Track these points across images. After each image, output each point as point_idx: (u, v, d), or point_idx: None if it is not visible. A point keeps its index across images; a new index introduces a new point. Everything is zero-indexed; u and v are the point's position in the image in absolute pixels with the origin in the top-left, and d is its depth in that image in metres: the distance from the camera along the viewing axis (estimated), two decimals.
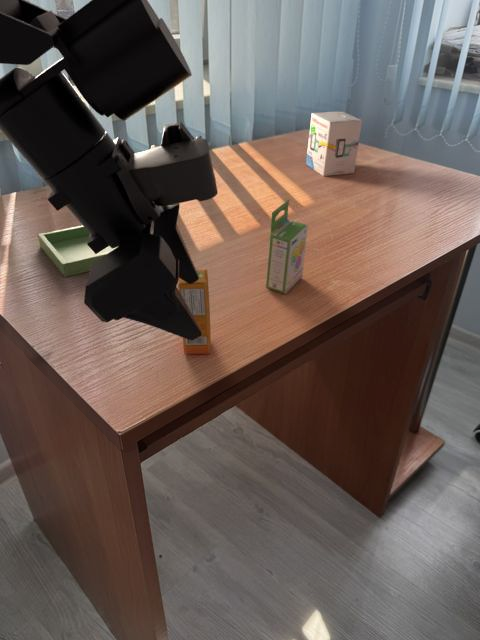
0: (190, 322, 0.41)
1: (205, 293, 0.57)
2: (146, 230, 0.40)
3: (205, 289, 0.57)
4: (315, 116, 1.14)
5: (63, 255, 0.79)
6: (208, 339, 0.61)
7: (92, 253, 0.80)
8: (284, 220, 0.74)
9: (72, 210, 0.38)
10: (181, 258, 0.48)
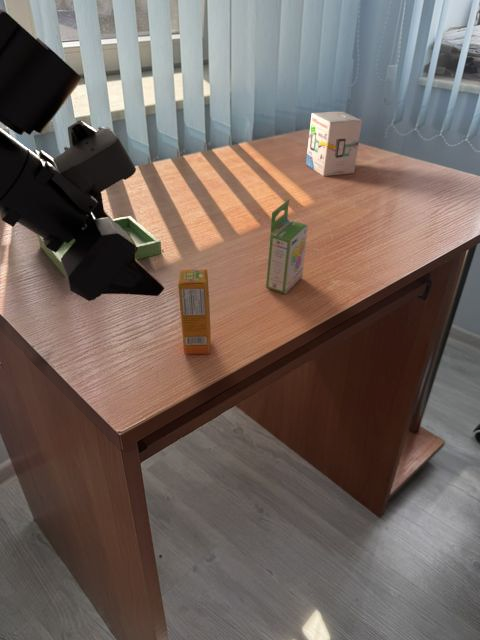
0: (153, 280, 0.49)
1: (205, 293, 0.57)
2: (89, 218, 0.47)
3: (205, 289, 0.57)
4: (315, 116, 1.14)
5: None
6: (208, 339, 0.61)
7: None
8: (284, 220, 0.73)
9: (24, 222, 0.44)
10: None
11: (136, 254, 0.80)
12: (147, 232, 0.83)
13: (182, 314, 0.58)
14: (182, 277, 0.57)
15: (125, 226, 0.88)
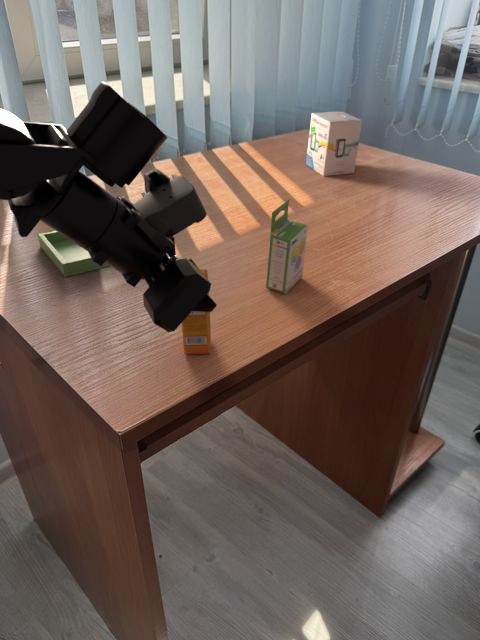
0: (208, 299, 0.57)
1: None
2: None
3: None
4: (315, 116, 1.14)
5: (63, 255, 0.79)
6: (208, 339, 0.61)
7: None
8: (284, 220, 0.74)
9: (109, 262, 0.50)
10: None
11: None
12: None
13: None
14: None
15: None
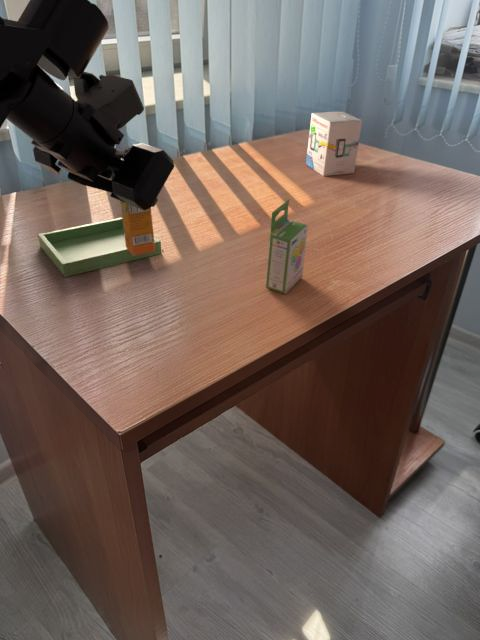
0: None
1: None
2: None
3: None
4: (315, 116, 1.14)
5: (63, 255, 0.79)
6: (153, 236, 0.67)
7: (92, 253, 0.80)
8: (284, 220, 0.74)
9: (70, 156, 0.53)
10: None
11: None
12: None
13: (128, 213, 0.63)
14: None
15: None
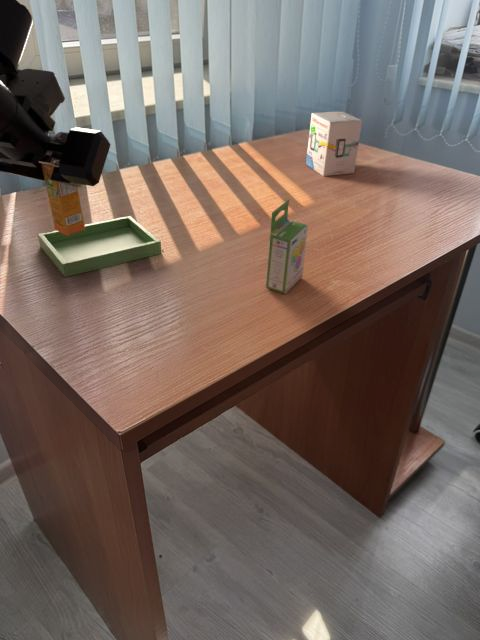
0: None
1: None
2: None
3: None
4: (315, 116, 1.14)
5: (63, 255, 0.79)
6: (82, 215, 0.73)
7: (92, 253, 0.80)
8: (284, 220, 0.74)
9: (16, 145, 0.58)
10: None
11: (136, 254, 0.80)
12: (147, 232, 0.83)
13: (59, 195, 0.69)
14: None
15: (125, 226, 0.88)
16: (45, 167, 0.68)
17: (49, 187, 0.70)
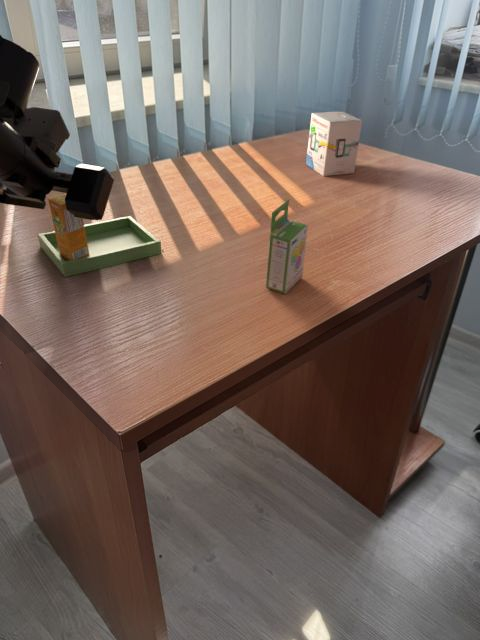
0: None
1: None
2: None
3: None
4: (315, 116, 1.14)
5: None
6: None
7: (92, 253, 0.80)
8: (284, 220, 0.73)
9: (24, 184, 0.61)
10: None
11: (136, 254, 0.80)
12: (147, 232, 0.83)
13: (67, 232, 0.72)
14: (56, 201, 0.70)
15: (125, 226, 0.88)
16: (53, 206, 0.71)
17: (56, 224, 0.73)
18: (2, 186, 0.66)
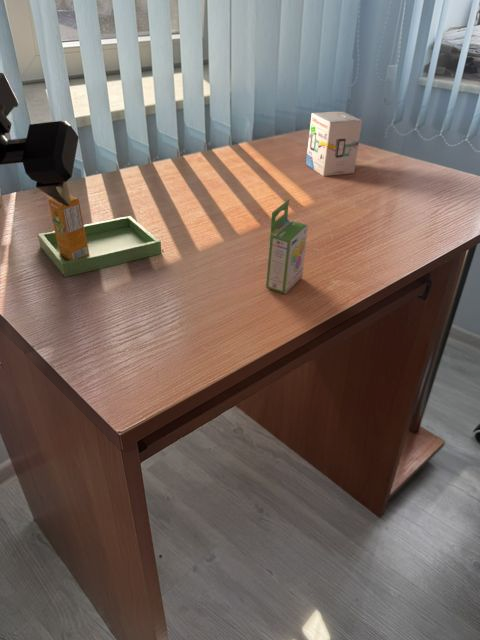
0: (67, 187, 0.60)
1: (80, 208, 0.72)
2: None
3: (79, 204, 0.72)
4: (315, 116, 1.14)
5: None
6: (87, 248, 0.76)
7: (92, 253, 0.80)
8: (284, 220, 0.73)
9: None
10: None
11: (136, 254, 0.80)
12: (147, 232, 0.83)
13: (66, 232, 0.72)
14: (56, 201, 0.70)
15: (125, 226, 0.88)
16: (53, 206, 0.71)
17: (56, 224, 0.73)
18: None
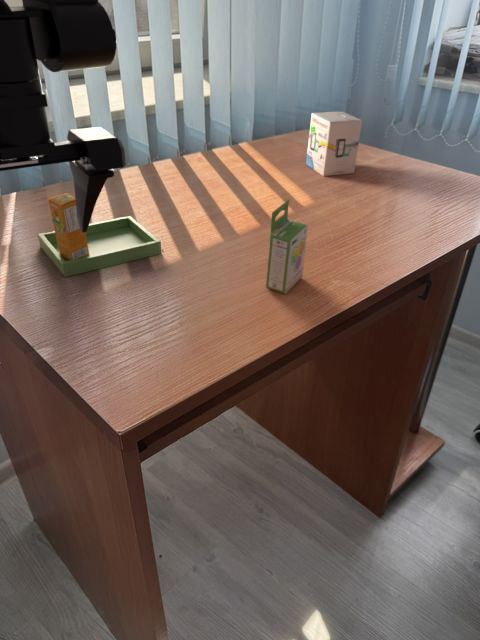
0: None
1: None
2: None
3: None
4: (315, 116, 1.14)
5: None
6: (87, 248, 0.76)
7: (92, 253, 0.80)
8: (284, 220, 0.73)
9: (40, 113, 0.47)
10: None
11: (136, 254, 0.80)
12: (147, 232, 0.83)
13: (66, 232, 0.72)
14: (56, 201, 0.70)
15: (125, 226, 0.88)
16: (53, 206, 0.71)
17: (56, 224, 0.73)
18: None
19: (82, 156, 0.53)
